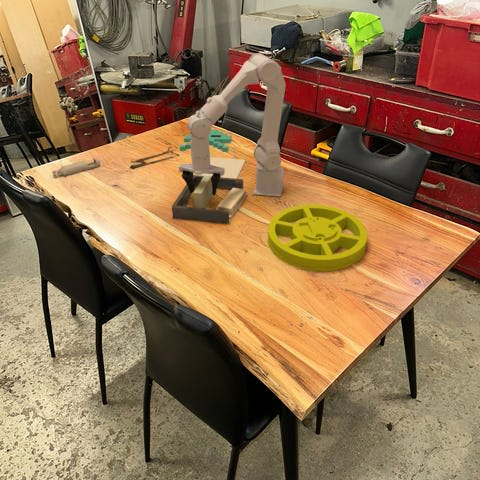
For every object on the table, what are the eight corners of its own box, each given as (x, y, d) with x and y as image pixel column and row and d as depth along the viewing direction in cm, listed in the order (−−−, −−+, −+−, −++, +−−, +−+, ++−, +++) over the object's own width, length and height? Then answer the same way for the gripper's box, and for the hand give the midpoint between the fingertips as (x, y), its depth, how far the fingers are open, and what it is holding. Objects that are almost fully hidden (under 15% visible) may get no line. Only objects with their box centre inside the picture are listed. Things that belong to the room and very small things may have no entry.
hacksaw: (131, 170, 166) (130, 167, 165) (121, 161, 173) (120, 157, 172) (186, 154, 177) (186, 151, 176) (174, 146, 184) (174, 143, 183)
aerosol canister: (98, 163, 171) (94, 148, 168) (102, 167, 168) (99, 152, 164) (52, 176, 163) (47, 160, 159) (56, 181, 160) (51, 164, 156)
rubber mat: (245, 160, 170) (245, 159, 170) (234, 184, 154) (234, 183, 154) (206, 157, 173) (206, 156, 173) (191, 181, 157) (191, 179, 157)
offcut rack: (243, 189, 151) (243, 179, 149) (228, 224, 133) (227, 212, 131) (193, 185, 155) (192, 174, 152) (172, 218, 137) (171, 207, 135)
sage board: (212, 194, 149) (211, 176, 145) (202, 212, 139) (201, 193, 135) (205, 193, 149) (204, 175, 145) (195, 211, 140) (193, 192, 136)
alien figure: (227, 153, 178) (233, 134, 194) (227, 147, 176) (233, 129, 193) (180, 151, 180) (189, 133, 196) (179, 146, 178) (188, 128, 195)
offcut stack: (248, 196, 148) (248, 186, 146) (231, 220, 136) (231, 210, 134) (232, 193, 150) (232, 184, 148) (215, 217, 138) (214, 207, 136)
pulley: (363, 220, 134) (366, 206, 131) (366, 278, 112) (369, 262, 109) (274, 212, 139) (275, 198, 136) (260, 265, 117) (260, 250, 114)
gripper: (174, 157, 133) (178, 196, 140) (219, 161, 130) (221, 200, 138) (181, 148, 138) (185, 186, 146) (225, 152, 135) (226, 190, 143)
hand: (203, 192), depth 142 cm, fingers open, 7 cm apart
